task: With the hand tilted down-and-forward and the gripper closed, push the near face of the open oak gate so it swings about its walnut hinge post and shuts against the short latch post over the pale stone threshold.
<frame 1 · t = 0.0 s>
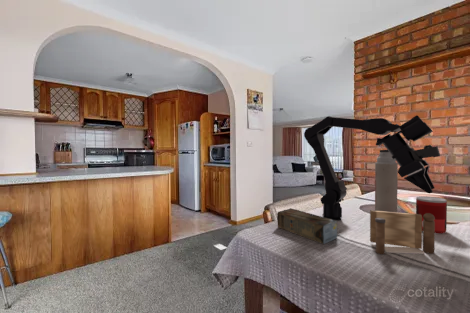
hand: (432, 190, 71), 15 cm above the table, tool tilted 35°, fingers open, 9 cm apart
hinge post: (428, 251, 61), on the table
gate: (394, 228, 64), point 5 cm above the table, hinge at 0.0°
threshold: (401, 250, 62), on the table
latch post: (380, 252, 61), on the table
beverage carton: (305, 233, 77), on the table
thermos bottle: (385, 215, 96), on the table
canned food: (430, 230, 78), on the table
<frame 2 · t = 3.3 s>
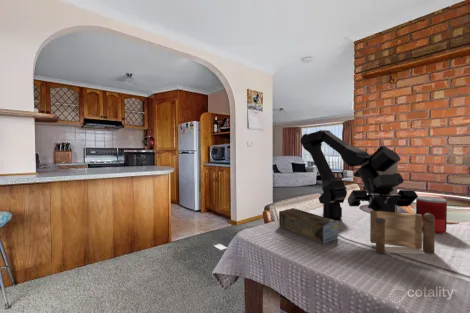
hand: (393, 223, 65), 7 cm above the table, tool tilted 45°, fingers closed
gate: (395, 228, 64), point 5 cm above the table, hinge at 2.1°, touching gripper
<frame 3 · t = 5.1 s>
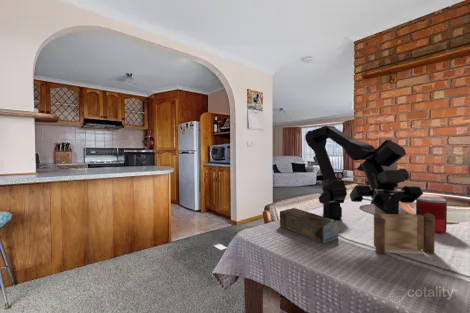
hand: (396, 220, 63), 8 cm above the table, tool tilted 40°, fingers closed
gate: (398, 231, 62), point 5 cm above the table, hinge at 16.7°, touching gripper, latch post
everything else where it was.
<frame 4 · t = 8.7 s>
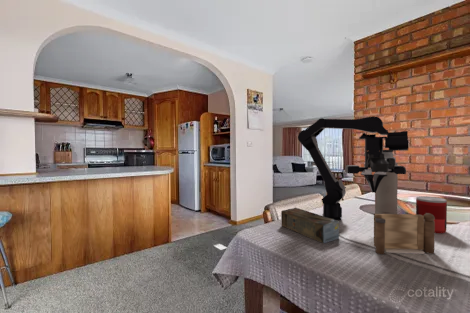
hand: (373, 192, 84), 12 cm above the table, tool pointing down, fingers closed
gate: (398, 231, 62), point 5 cm above the table, hinge at 16.7°, touching latch post
at the end: gate at +17° (first picture: +0°) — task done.
